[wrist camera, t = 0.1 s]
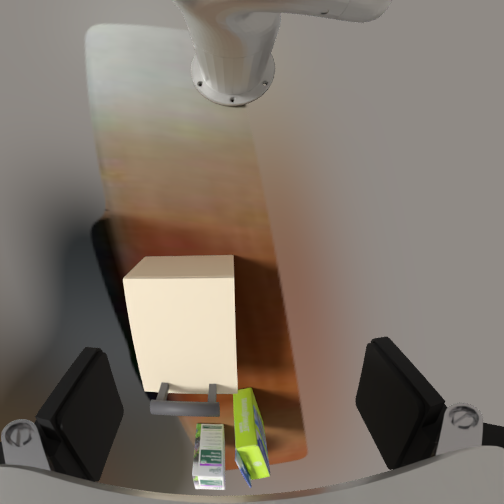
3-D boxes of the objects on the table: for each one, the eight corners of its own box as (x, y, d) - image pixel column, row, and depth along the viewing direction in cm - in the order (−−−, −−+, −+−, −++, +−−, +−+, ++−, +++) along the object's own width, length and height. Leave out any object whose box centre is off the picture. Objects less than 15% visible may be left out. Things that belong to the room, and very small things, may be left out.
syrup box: (224, 423, 55) (224, 476, 41) (225, 439, 56) (225, 491, 42) (196, 422, 55) (191, 475, 40) (199, 439, 56) (195, 490, 42)
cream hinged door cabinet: (145, 256, 45) (124, 276, 36) (233, 255, 46) (234, 275, 37) (158, 353, 50) (145, 387, 40) (236, 354, 51) (237, 390, 41)
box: (263, 420, 55) (273, 485, 39) (244, 424, 55) (249, 489, 39) (252, 385, 53) (260, 454, 36) (231, 389, 53) (232, 459, 36)
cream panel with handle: (124, 277, 36) (105, 296, 29) (234, 276, 36) (234, 296, 30) (145, 388, 40) (135, 417, 34) (237, 390, 41) (239, 421, 34)
